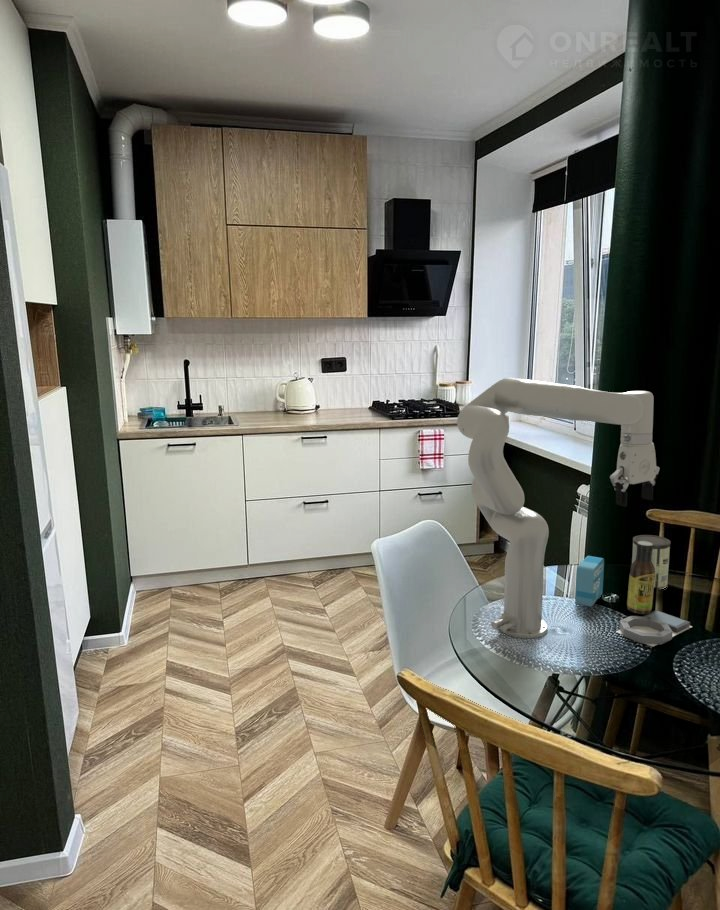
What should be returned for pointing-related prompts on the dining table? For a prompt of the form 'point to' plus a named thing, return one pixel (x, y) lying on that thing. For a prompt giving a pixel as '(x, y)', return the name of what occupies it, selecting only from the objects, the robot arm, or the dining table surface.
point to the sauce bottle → (641, 580)
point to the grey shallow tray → (646, 630)
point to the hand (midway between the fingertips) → (634, 502)
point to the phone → (670, 620)
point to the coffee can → (656, 557)
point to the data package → (589, 581)
